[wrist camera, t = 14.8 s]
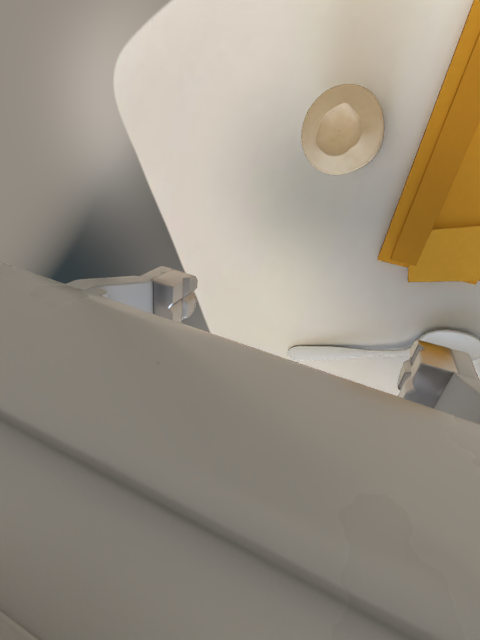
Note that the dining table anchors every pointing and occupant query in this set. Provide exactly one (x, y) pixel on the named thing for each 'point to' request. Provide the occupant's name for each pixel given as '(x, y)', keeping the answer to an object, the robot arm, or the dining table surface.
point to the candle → (343, 129)
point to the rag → (445, 179)
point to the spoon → (437, 337)
